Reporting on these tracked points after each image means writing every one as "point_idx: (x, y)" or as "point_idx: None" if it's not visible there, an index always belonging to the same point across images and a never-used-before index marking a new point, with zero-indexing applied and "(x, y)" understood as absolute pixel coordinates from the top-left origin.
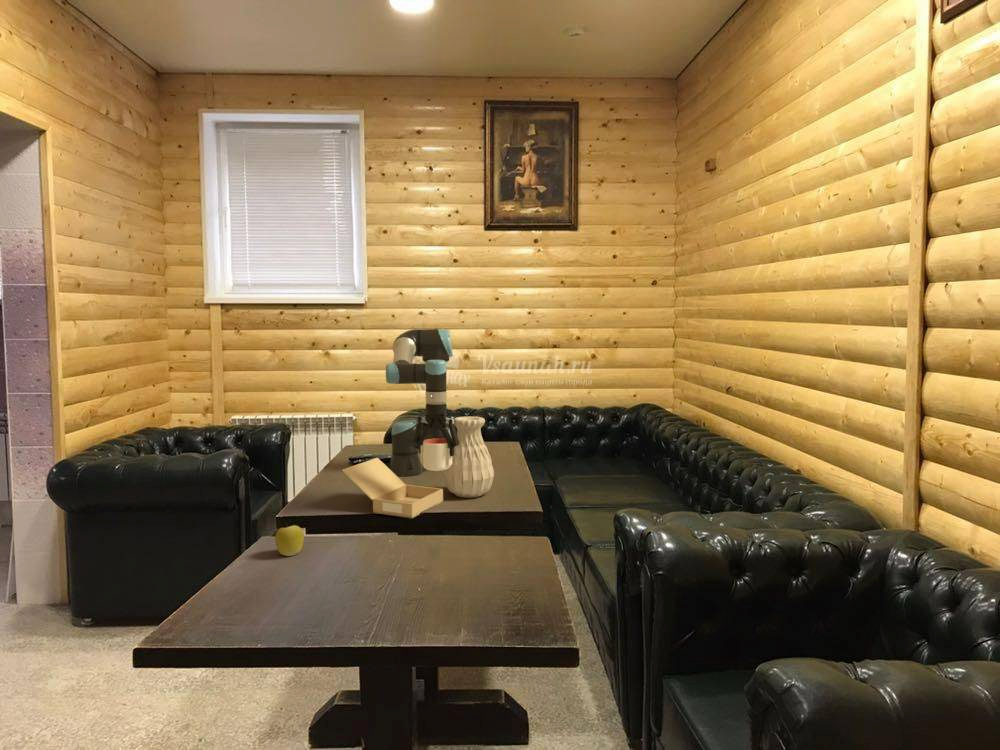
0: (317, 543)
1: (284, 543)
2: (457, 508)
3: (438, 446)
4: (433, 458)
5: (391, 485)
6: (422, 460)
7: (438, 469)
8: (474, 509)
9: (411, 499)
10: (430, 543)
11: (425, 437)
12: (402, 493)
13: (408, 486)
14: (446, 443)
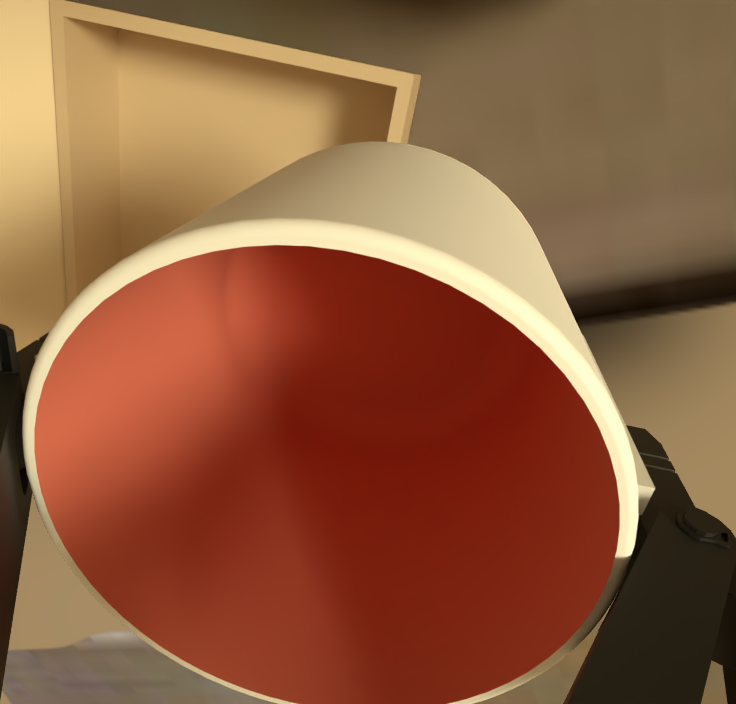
0: (151, 691)
1: None
2: (562, 215)
3: (430, 676)
4: (374, 532)
5: (5, 166)
6: None
7: (437, 435)
8: (691, 215)
9: (190, 107)
10: (526, 687)
11: (9, 542)
12: (98, 92)
13: (86, 19)
14: (566, 651)
